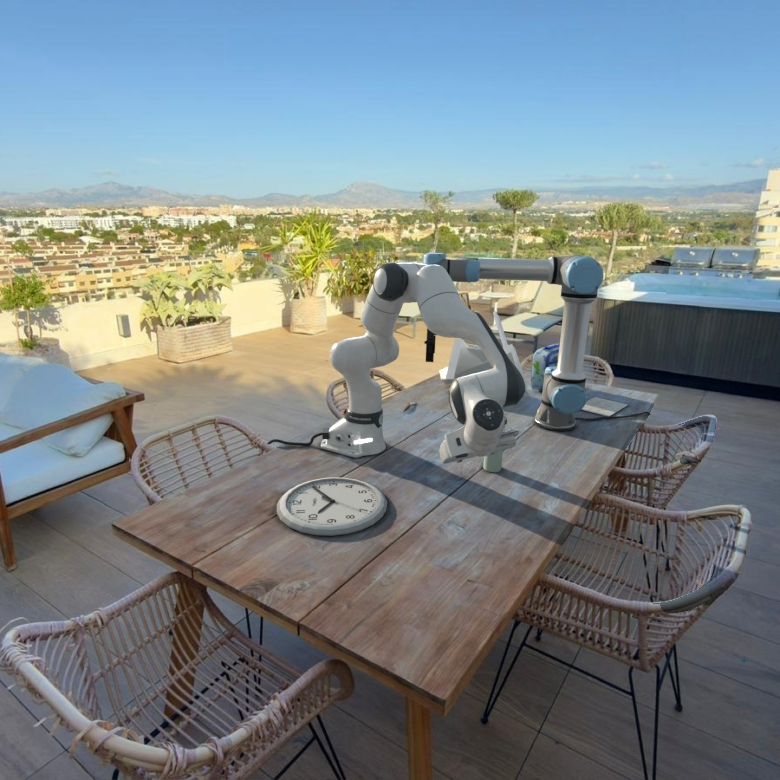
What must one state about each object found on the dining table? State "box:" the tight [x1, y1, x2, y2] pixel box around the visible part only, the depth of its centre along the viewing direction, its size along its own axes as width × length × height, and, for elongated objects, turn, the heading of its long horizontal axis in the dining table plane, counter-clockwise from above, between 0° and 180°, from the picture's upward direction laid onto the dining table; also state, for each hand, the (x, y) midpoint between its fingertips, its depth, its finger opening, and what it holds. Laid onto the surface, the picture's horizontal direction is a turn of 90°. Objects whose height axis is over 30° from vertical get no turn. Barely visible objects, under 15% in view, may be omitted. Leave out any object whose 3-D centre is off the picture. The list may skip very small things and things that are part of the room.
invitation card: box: [580, 396, 629, 417], centre depth 226 cm, size 21×1×15 cm
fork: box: [403, 396, 419, 412], centre depth 222 cm, size 3×16×2 cm, turn 160°
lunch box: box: [530, 343, 560, 391], centre depth 249 cm, size 26×11×21 cm, turn 134°
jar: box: [482, 425, 506, 473], centre depth 164 cm, size 6×6×17 cm
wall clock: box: [276, 476, 388, 537], centre depth 142 cm, size 30×2×30 cm
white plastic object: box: [438, 310, 531, 397], centre depth 245 cm, size 37×45×31 cm
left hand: (474, 455), depth 144 cm, fingers open, 8 cm apart
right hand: (430, 357), depth 190 cm, fingers open, 13 cm apart
